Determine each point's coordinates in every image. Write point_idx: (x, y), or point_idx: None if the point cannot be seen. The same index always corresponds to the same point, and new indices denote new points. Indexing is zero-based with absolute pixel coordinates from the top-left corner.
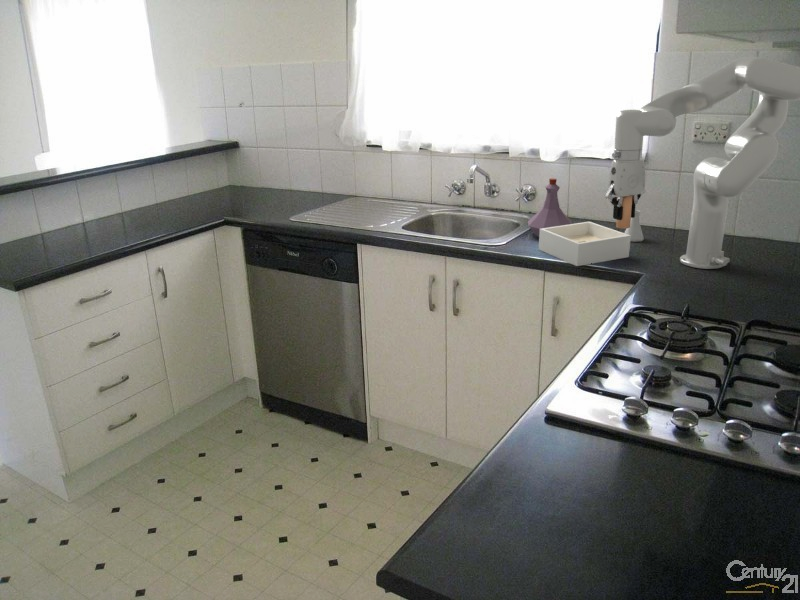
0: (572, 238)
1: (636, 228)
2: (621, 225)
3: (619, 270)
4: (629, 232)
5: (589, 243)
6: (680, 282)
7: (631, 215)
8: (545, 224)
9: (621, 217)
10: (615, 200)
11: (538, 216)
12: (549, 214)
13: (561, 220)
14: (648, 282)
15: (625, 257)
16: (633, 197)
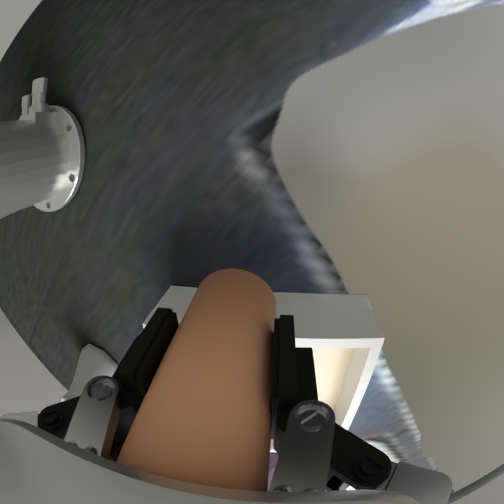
0: None
1: (85, 372)
2: (269, 297)
3: (284, 200)
4: (102, 374)
5: (336, 335)
6: (196, 33)
7: (173, 327)
8: (273, 465)
9: (285, 324)
10: (363, 464)
11: (269, 483)
12: None
13: None
14: (285, 65)
15: (182, 286)
16: (109, 438)
